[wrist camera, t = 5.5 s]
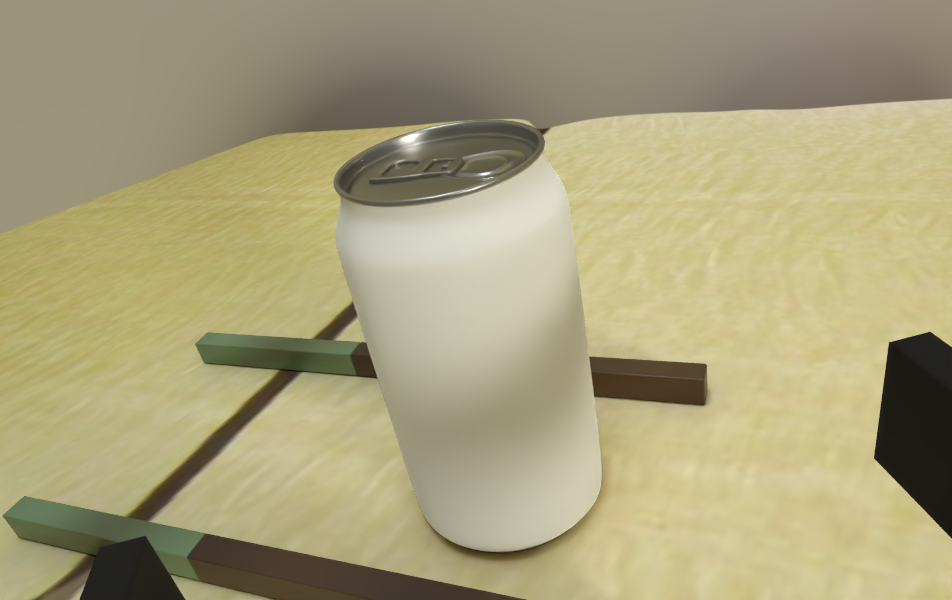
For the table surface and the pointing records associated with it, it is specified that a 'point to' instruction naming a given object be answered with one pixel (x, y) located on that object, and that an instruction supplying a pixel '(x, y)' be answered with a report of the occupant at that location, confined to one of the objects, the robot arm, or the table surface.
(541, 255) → the can
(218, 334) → the chopsticks
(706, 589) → the table surface
